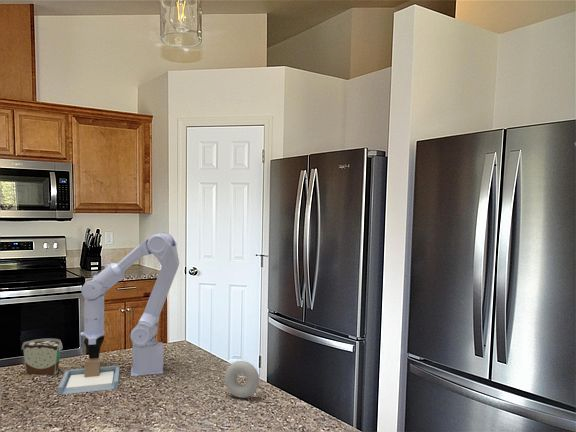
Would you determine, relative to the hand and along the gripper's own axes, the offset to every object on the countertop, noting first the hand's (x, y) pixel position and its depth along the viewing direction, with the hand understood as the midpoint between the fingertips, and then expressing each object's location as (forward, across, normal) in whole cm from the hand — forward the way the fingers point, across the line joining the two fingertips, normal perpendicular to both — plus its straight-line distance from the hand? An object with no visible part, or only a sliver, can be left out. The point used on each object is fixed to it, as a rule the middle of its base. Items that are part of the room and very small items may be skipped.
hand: (94, 361), depth 143 cm
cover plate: (+3, +10, 0) cm, 10 cm away
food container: (+4, -4, -14) cm, 15 cm away
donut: (+4, +32, +40) cm, 52 cm away
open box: (+3, +10, 0) cm, 11 cm away
